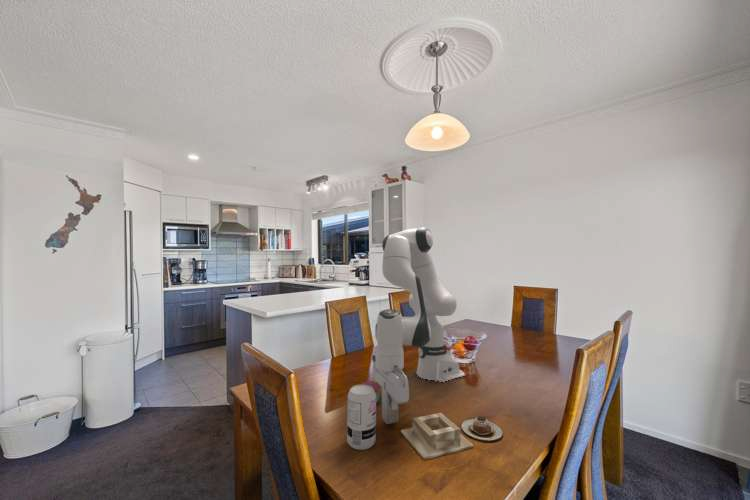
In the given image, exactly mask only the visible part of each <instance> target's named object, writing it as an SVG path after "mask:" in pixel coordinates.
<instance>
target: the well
mask: <svg viewBox="0 0 750 500" xmlns="http://www.w3.org/2000/svg"><path fill="white" fill-rule="evenodd" d="M400 433H401V435H403V437H404V438H405V439H406V441H407V442H408V443H409V445H411V446H412V447H413V449H414V450H415V451H416V452H417V454H418V455H419V456H420V457H421V459H422V460H423V461H426V460H429V459H435V458H437V457H441V456H445V455H449V454H453V453H457V452H462V451H465V450H470V449H473V448H474V447H475V446H474V444H473V443H472V442H470V440H468V439H467V438H466V437H464V436H463V434H462V433H461V428H460V427H458V426H457V424H456V423H454V422H453V421H451V420H450V419H449V418H448V417H446V415H444V414H443V413H442V412H437V413H433V414H427V415H423V416H418V417H413V418H412V427H409V428H405V429H400Z"/></svg>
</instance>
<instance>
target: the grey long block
mask: <svg viewBox="0 0 750 500" xmlns="http://www.w3.org/2000/svg"><path fill="white" fill-rule="evenodd" d="M391 402H392V399H391V396H390V395H389V394H388V392H387V391H386V383H385V382H384V388H383V387H382V393H381V418H382V420H383V421H384V422H385V424H386V425H389V424H394V423H399V421H400V420H399V417H400V416H399V410H400V409H399V408H400V407H399V404H397V409H396V410H392V409H391V408H390V403H391Z"/></svg>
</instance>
